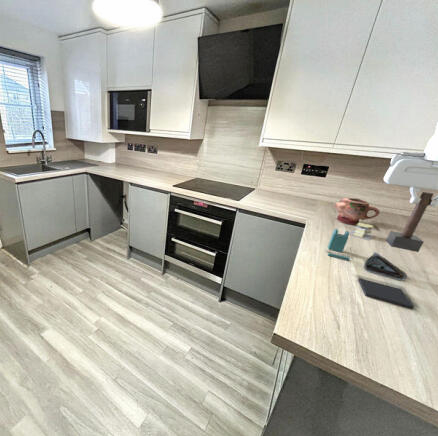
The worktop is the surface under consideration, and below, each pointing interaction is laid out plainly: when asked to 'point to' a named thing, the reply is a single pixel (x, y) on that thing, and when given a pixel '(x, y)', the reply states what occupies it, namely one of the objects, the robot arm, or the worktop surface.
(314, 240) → the worktop surface
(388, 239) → the mallet
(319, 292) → the worktop surface
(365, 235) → the stacked layers on plate
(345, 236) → the rest
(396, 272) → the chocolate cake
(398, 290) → the mat
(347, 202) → the pink floral mug
